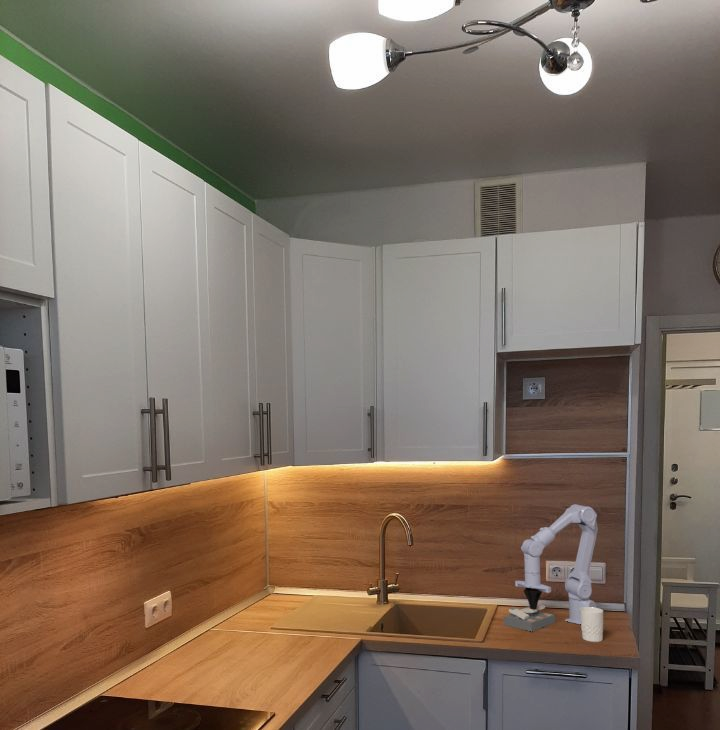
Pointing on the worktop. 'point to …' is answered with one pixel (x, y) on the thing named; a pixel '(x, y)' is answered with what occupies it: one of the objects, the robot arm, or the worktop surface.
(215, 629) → the worktop surface
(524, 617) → the left rocker
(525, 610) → the middle rocker
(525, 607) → the right rocker
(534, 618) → the switch box
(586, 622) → the white cup
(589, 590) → the robot arm
